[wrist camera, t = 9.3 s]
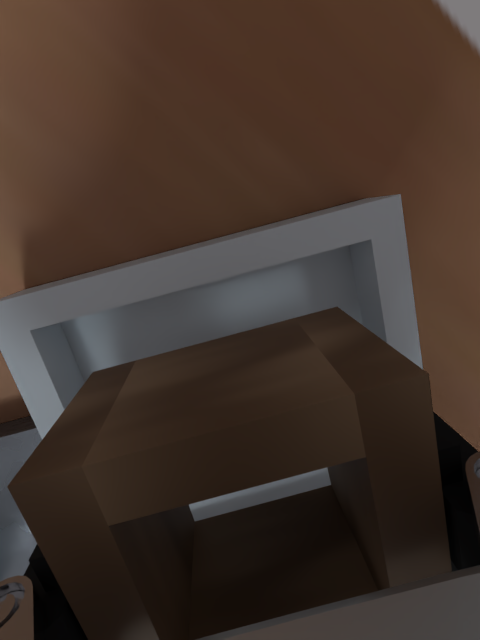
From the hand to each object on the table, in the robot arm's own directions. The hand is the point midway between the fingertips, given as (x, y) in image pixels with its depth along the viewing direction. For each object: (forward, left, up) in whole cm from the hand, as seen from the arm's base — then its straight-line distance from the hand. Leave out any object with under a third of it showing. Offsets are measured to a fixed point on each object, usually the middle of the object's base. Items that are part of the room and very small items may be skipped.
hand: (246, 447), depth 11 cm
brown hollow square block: (0, 0, 0) cm, 0 cm away
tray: (0, 0, -4) cm, 4 cm away
